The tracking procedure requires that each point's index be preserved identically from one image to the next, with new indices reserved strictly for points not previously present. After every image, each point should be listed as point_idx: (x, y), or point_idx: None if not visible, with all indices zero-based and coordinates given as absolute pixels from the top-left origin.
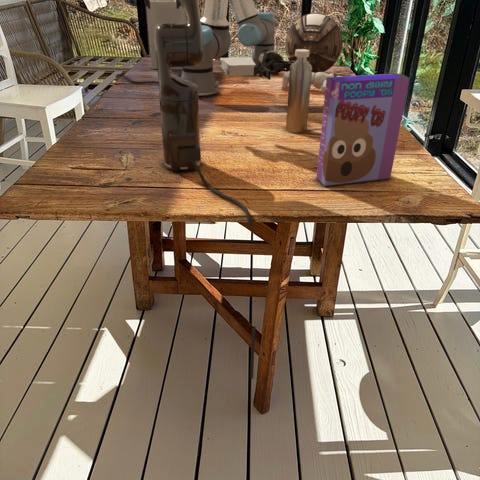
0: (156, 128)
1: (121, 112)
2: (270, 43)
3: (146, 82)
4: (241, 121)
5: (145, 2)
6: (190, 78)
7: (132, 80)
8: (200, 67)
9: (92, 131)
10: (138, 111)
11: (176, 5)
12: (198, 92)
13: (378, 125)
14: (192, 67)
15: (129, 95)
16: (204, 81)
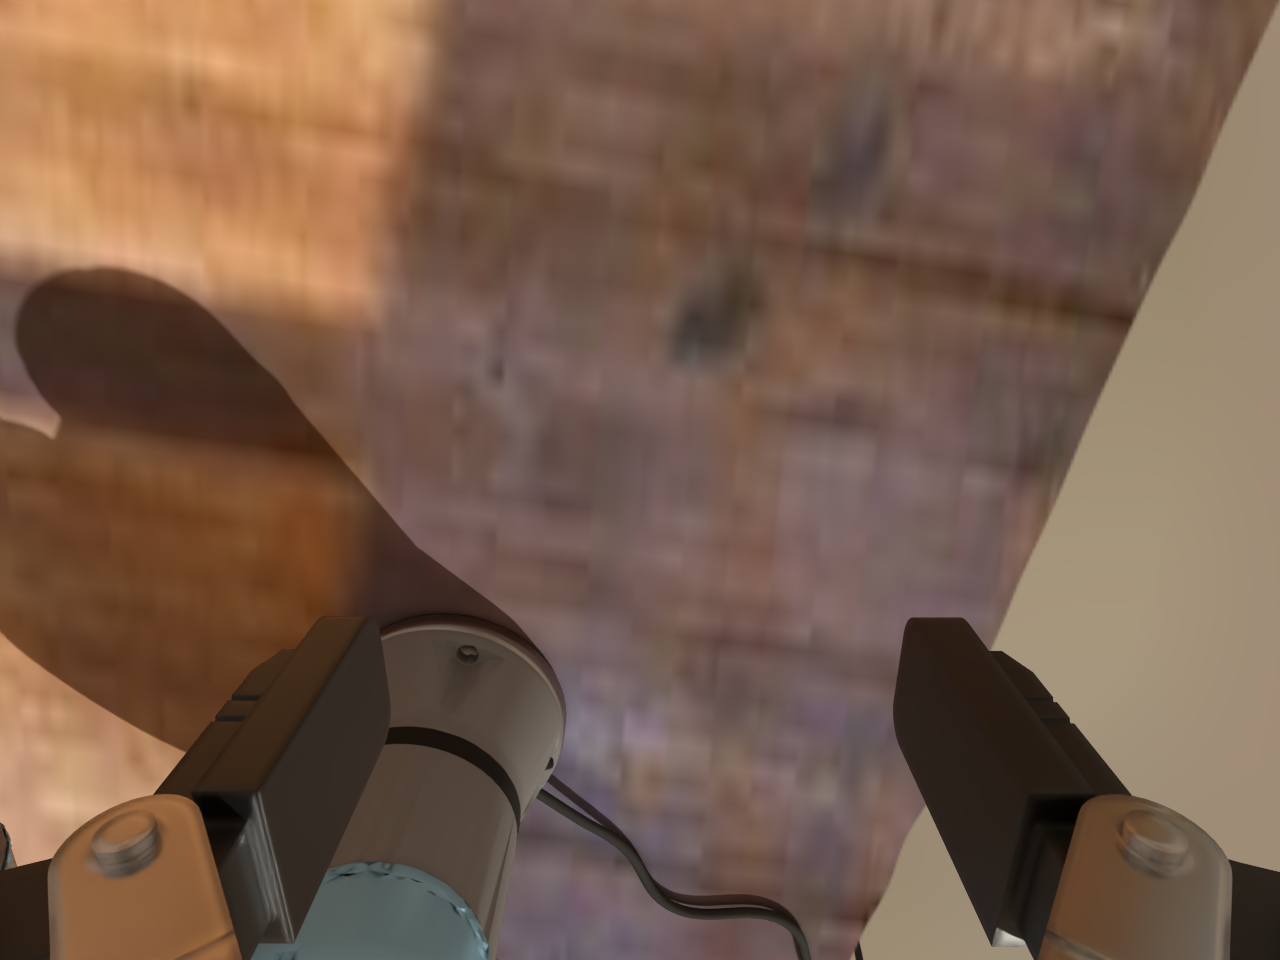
0: (747, 14)
1: (920, 398)
2: None
3: (727, 910)
4: (191, 87)
5: (1047, 700)
6: (476, 713)
7: (799, 940)
8: (387, 753)
9: (1146, 14)
10: (821, 404)
11: (362, 682)
12: (446, 632)
13: None
14: (444, 760)
15: (838, 715)
16: (390, 687)
